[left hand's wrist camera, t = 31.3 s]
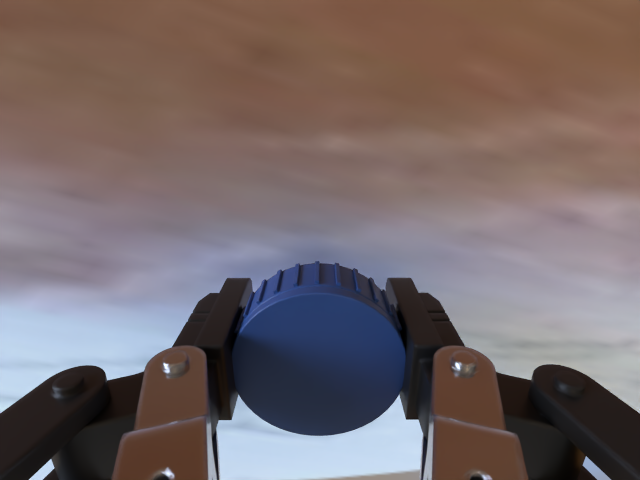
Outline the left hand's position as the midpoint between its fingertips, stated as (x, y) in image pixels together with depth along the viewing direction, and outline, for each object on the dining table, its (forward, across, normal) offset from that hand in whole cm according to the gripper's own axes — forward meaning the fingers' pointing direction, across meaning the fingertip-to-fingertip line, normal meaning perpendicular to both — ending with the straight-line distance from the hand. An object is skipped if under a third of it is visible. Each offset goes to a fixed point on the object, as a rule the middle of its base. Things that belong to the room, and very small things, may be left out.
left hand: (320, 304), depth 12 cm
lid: (-3, 0, 0) cm, 3 cm away
